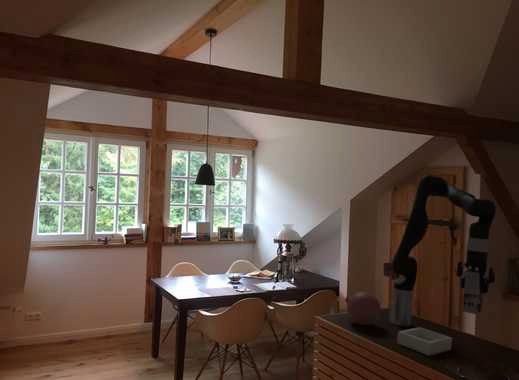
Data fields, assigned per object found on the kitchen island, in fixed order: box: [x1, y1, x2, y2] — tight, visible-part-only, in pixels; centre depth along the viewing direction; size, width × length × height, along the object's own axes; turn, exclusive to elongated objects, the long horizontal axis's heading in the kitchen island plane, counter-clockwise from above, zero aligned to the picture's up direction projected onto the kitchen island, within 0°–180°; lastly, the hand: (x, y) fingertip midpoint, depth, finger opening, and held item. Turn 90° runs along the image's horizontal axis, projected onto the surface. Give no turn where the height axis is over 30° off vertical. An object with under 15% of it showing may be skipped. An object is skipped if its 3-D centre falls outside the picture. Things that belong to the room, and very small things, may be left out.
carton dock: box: [396, 326, 453, 357], centre depth 186 cm, size 15×16×5 cm
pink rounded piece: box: [344, 291, 382, 326], centre depth 212 cm, size 15×20×15 cm
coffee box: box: [461, 270, 484, 316], centre depth 174 cm, size 9×6×16 cm
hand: (473, 290), depth 175 cm, fingers closed on coffee box, 8 cm apart
